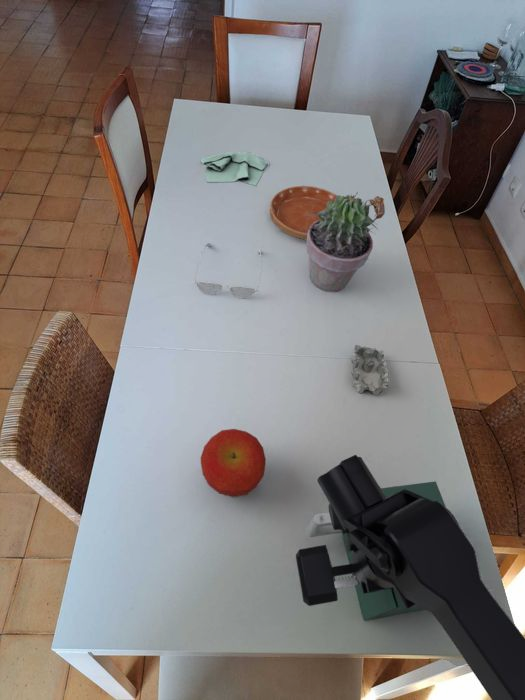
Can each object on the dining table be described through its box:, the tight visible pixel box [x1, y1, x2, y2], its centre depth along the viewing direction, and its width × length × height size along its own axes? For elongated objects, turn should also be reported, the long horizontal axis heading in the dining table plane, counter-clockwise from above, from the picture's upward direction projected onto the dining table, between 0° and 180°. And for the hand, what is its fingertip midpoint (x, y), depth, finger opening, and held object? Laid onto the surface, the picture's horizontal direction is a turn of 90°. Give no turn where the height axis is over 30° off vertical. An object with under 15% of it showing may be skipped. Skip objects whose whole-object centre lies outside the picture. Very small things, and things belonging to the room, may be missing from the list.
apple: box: [200, 428, 267, 498], centre depth 78 cm, size 11×11×12 cm
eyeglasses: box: [193, 242, 263, 299], centre depth 113 cm, size 15×18×4 cm
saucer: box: [269, 185, 338, 241], centre depth 129 cm, size 23×23×4 cm
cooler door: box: [305, 511, 396, 622], centre depth 70 cm, size 8×16×13 cm, turn 9°
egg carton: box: [351, 344, 389, 396], centre depth 98 cm, size 11×8×4 cm
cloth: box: [199, 151, 269, 187], centre depth 142 cm, size 20×22×2 cm
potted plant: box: [299, 191, 386, 293], centre depth 107 cm, size 18×20×25 cm
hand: (364, 571), depth 63 cm, fingers open, 9 cm apart
